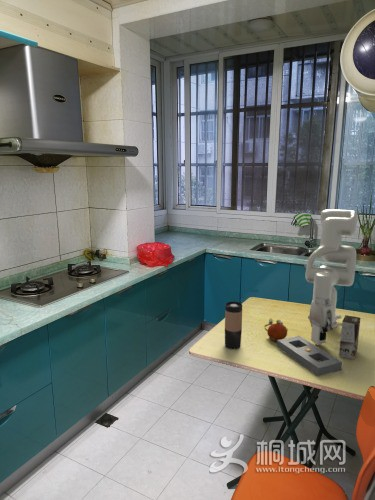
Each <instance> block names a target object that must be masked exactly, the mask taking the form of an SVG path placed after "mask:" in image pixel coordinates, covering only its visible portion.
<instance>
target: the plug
mask: <svg viewBox="0 0 375 500" xmlns="http://www.w3.org/2000/svg"><path fill="white" fill-rule="evenodd" d="M311 323H312V327H311V337H310V338H311V339H310V341H311V343H314V344H316V346H317V345H318V346H319V345H324V344H326V341H327V340H326V339H327V338H326V339H325V340H322V341H320V332H321V327H322V326H321V324H319V323H317V322H315V321H313V320H311ZM311 323H310V324H311ZM324 329H325V327H324Z"/></svg>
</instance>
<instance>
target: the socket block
mask: <svg viewBox="0 0 375 500" xmlns="http://www.w3.org/2000/svg"><path fill="white" fill-rule="evenodd" d="M276 342H277V345H276V346H277V348H278V349H279V350H280V351H281V352H283V353H285V355H288V356H289V357H290V358H291V359H294V360H295V361H296V362H298V363H299V365H301V366H302V367H305V368H306V369H308V370H309V371H310V372H311V373H313V374H314V375H316V376H317V377H320V376H325V375H328V374H331V372H332V373H335V371H336V372H338V371H342V368H343V367H342V366H343V361H341V360H340V359H338V358H337V357H335V356H333V355H331V354H330V353H329V352H327V351H325V350H323V349H322V348H320V347H319V346H317V345H315V343H314V344H313V342H310V341H309V340H307V339H305V338H304V337H302V336H301V335H296V336H290V337H285V338H284V339H280V340H278V341H276Z"/></svg>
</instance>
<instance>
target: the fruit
mask: <svg viewBox="0 0 375 500" xmlns="http://www.w3.org/2000/svg"><path fill="white" fill-rule="evenodd" d="M271 324H272V325H268V326H269V327H268V328H267V330H268V331H266V332H267V336H268V337H269V338H271V340H274V341H276V342H278V340H280V339H285V338H287V336H288V330H286V328H287V327H286V326H285V325H284V324H283V325H284V326H285V327H286V328H285V327H284V326H283V325H281V324H279V323H277V322H276V323H271Z"/></svg>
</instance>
